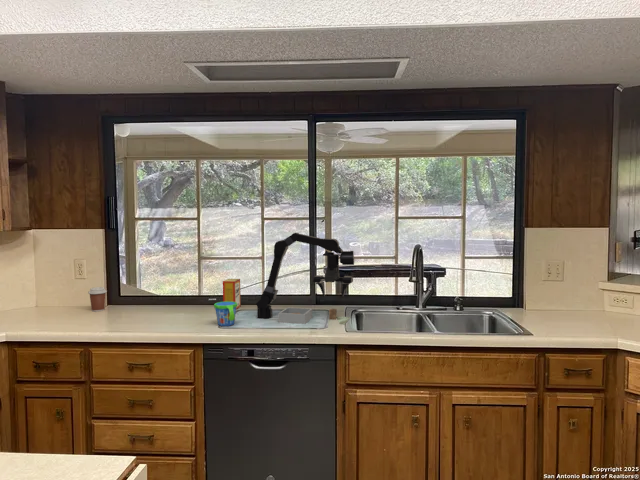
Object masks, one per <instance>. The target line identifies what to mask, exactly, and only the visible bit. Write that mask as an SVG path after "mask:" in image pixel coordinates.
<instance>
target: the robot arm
mask: <svg viewBox="0 0 640 480" xmlns="http://www.w3.org/2000/svg"><path fill="white" fill-rule="evenodd" d="M296 242H299V243H304V244H307V245H313V246H316V247H317V246H318V247H320V248H322V249H323V250H326V251H325V252H324V253H323V254H322V256H324V257H325V256H326V272H325V274H324V275H322V274H321V275H320V274H318V275H314V276H313V277H312V283H315V285H318V286H319V288H320V291H321V293H322V297H323V298H324V297H326V289H325V287H326V286H325V283H335V282H342V286H341V287H342V288H341V289H342V290H341V298H344V296H345V293H346V290H347V287H348V286H349V285H351V284H353V282H354V277H353V276H352V275H345V276H343V277H341V275H340V264H341V265H342V266H355V253H354V252H355V251H354V250H348V251H347V250H343V249H342V247H340V242H339V241H338V239H337V238H328V237H327V238H325V237H324V238H323V237H321V238H320V237H317V236H316V237H315V236H312V235H307V234H304V233H303V234H302V233H299V232H293V233H291V234H290V235H289V236H288V237H286V238H284V239H281V240H277V241H276V242H275V243H274V246H273V260H272V261H273V262H272V265H271V267H270V268H271V269H270V272H269V276H268V280H267V284H266V286H265V287H264V290H263V292H262V293H261V296H260V299H259V301H257V302H256V306H257V307H256V309H257V311H256V312H257V313H256V314H257V316H256V319H262V320H263V319H264V320H269V319H271V318H273V308H272V305H271V304H272V302H273V301H275V300H276V299H277V297H278V295H277V294H278V292H279V290H278V289H276V285H277V282H278V277H279V273H280V269H281V267H282V262H283V259H284V257H285V255H286V253H287V251H288V249H289V247H291V246H292V245H293V244H294V243H296ZM339 263H340V264H339Z"/></svg>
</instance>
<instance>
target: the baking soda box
mask: <svg viewBox="0 0 640 480" xmlns="http://www.w3.org/2000/svg"><path fill="white" fill-rule="evenodd" d="M226 301H231V302H236V303H237V307H236V310H238V309H239V308H241V305H242V302H241V301H242V299H241V278H227V279H224V280H223V281H222V302H226Z"/></svg>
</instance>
